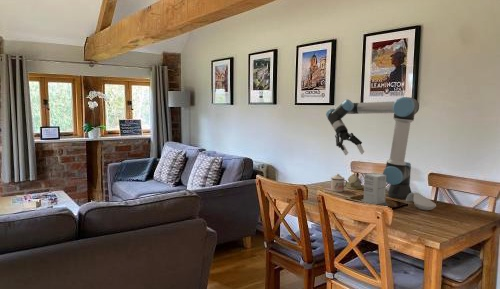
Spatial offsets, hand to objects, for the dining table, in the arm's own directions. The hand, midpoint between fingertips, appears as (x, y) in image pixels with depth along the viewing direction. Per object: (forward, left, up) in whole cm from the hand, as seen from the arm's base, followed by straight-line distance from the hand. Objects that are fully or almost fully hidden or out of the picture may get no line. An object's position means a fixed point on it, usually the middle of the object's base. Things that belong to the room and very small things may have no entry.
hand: (355, 153), depth 243 cm
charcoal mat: (-10, +16, -29) cm, 34 cm away
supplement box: (-9, +16, -28) cm, 33 cm away
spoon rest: (-35, +18, -29) cm, 49 cm away
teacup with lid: (+5, -19, -29) cm, 35 cm away
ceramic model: (-7, -31, -29) cm, 43 cm away
